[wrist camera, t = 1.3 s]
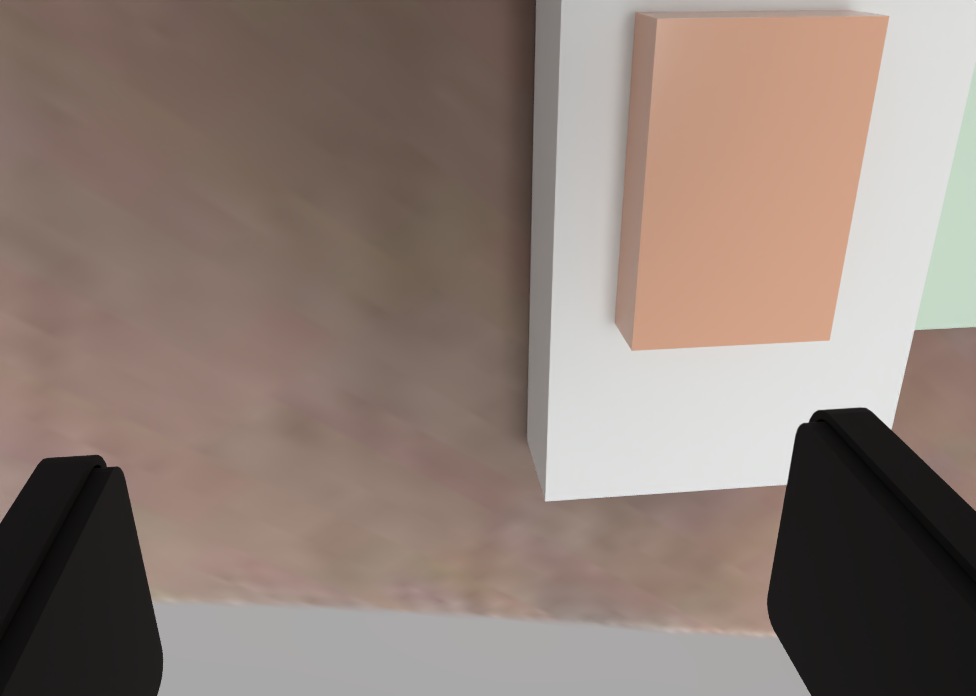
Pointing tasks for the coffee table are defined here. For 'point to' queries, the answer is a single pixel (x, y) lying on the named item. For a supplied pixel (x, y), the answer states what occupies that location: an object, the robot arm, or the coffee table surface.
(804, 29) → the tile
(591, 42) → the white flat block
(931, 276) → the mat
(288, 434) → the coffee table surface
